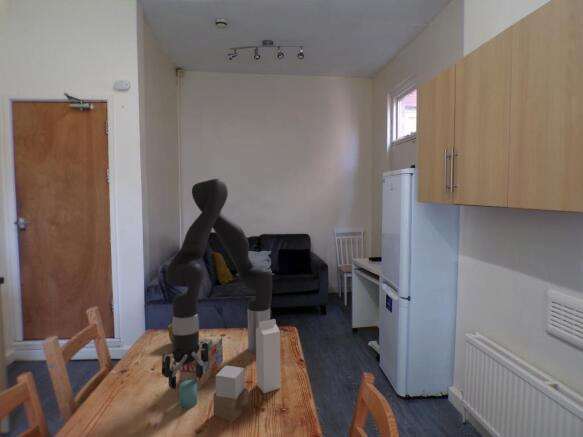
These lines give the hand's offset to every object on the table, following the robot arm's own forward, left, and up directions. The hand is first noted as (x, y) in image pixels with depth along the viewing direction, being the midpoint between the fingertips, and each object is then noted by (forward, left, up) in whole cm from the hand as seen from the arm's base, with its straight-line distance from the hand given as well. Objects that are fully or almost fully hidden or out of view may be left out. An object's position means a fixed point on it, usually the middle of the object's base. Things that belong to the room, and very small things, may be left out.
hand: (186, 382), depth 103 cm
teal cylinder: (0, 0, -7) cm, 7 cm away
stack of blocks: (-14, -12, -7) cm, 19 cm away
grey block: (-6, +13, -1) cm, 15 cm away
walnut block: (-6, +13, -7) cm, 16 cm away
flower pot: (-22, -41, -7) cm, 47 cm away
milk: (-23, +12, -7) cm, 27 cm away
